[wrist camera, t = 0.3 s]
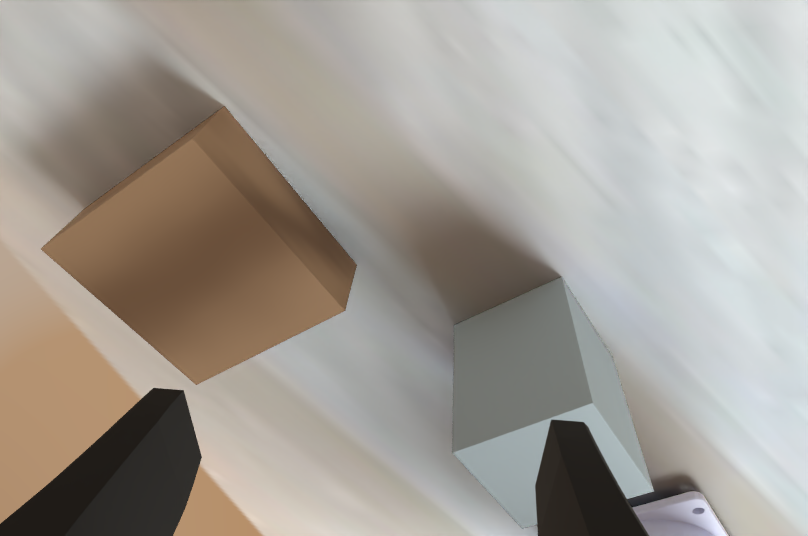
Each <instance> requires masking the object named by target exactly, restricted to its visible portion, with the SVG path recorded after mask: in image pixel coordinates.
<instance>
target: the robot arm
mask: <svg viewBox="0 0 808 536" xmlns="http://www.w3.org/2000/svg"><path fill="white" fill-rule="evenodd" d="M201 458H202V457H201V453H200V449H199V446H198V442H197V438H196V435H195V431H194V427H193V424H192V420H191V416H190V413H189V409H188V405H187V402H186V398H185V394H184V391H183V390H172V389H159V388H153V389H152V390H151V391H150V392H149V393H148V394H146V395H145V396H144V397H143V398H142V399H141V400H140V401H139V402H138V403H137V404H135V405H134V406H133V408H131V409H130V410H129V411H128V412H127V413H126V414H125V415H124V416H123V417H122V418H120V419H119V420H118V421H117V422H116V423H115V424H114V425H113V426H112V427H111V428H110V429H109V430H108V431H107V432H105V434H103V435H102V436H101V437H100V438H99V439H98V440H97V441H96V442H95V443H94V444H93V445H91V447H89V448H88V449H87V450H86V451H85V452H84V453H83V454H81V455H80V456H79V457H78V458H77V459H76V460H75V461H74V462H73V463H71V464H70V465H69V466H68V467H67V468H66V469H65V470H64V471H63V472H61V473H60V474H59V475H58V476H57V477H56V478H55V479H53V481H51V482H50V483H49V484H48V485H46V486H45V487H44V488H43V489H42V490H40V492H38V493H37V494H36V495H35V496H33V497H32V498H31V499H30V500H29V501H27V502H26V503H25V504H24V505H22V506H21V507H20V508H19V509H18V510H16V511H15V512H14V513H13V514H12V515H10V516H9V517H8V518H7V519H6V520H4V521H3V522H2V523H1V524H0V536H173V534H174V532H175V529H176V527H177V525H178V523H179V521H180V519H181V516H182V514H183V512H184V510H185V507H186V504H187V501H188V498H189V495H190V492H191V490H192V487H193V484H194V480H195V477H196V474H197V470H198V467H199V464H200V461H201ZM535 492H536V511H537V527H538V536H729V535H728V534H727V532H726V530H725V529H724V527H723V526H722V524H721V522H720V521H719V519H718V518H717V516H716V514H715V513H714V511H713V510H712V508H711V507H710V505H709V503H708V502H707V500H706V499H705V497H704V495H703V494H702V493H699V492H696V491H691V492H686V493H683V494H679V495H676V496H672V497H668V498H665V499H661V500H658V501H654V502H650V503H647V504H643V505H640V506H636V507H631V505H630V504H629V502H628V500H627V498H626V497H625V495H624V493H623V492H622V490H621V488H620V486H619V484H618V483H617V481H616V479H615V477H614V476H613V474H612V472H611V470H610V468H609V466H608V465H607V463H606V461H605V459H604V457H603V455H602V453H601V451H600V450H599V448H598V446H597V444H596V442H595V440H594V438H593V436H592V434H591V432H590V430H589V427H588V426H587V425H586V424H585V423H584V422H578V421H565V420H552V419H551V422H550V426H549V430H548V435H547V439H546V443H545V447H544V451H543V455H542V459H541V463H540V468H539V472H538V476H537V480H536V484H535Z"/></svg>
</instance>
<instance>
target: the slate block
mask: <svg viewBox="0 0 808 536" xmlns="http://www.w3.org/2000/svg"><path fill="white" fill-rule="evenodd" d="M551 419H552V420H565V421H578V422H584V423H585V424H586V425H587V426H588V427H589V430H590V432H591V434H592V436H593V438H594V440H595V442H596V444H597V446H598V448H599V450H600V451H601V453H602V455H603V457H604V459H605V461H606V463H607V465H608V466H609V468H610V470H611V472H612V474H613V476H614V477H615V479H616V481H617V483H618V484H619V486H620V488H621V490H622V492H623V493H624V495H625V497H626V498H627V499H629V498H633V497H636V496H640V495H643V494H647V493H650V492H654V490H653V486H652V483H651V480H650V477H649V473H648V470H647V467H646V464H645V460H644V457H643V454H642V451H641V447H640V444H639V441H638V438H637V434H636V431H635V428H634V425H633V422H632V418H631V415H630V412H629V409H628V405H627V402H626V399H625V396H624V392H623V389H622V386H621V383H620V379H619V376H618V373H617V370H616V366H615V363H614V360H613V357H612V355H611V354H610V352H609V350H608V349H607V347H606V346H605V344H604V343H603V341H602V339H601V338H600V336H599V335H598V333H597V331H596V330H595V328H594V327H593V325H592V324H591V322H590V320H589V319H588V317H587V316H586V314H585V312H584V311H583V309H582V308H581V306H580V305H579V303H578V301H577V300H576V298H575V297H574V295H573V293H572V292H571V290H570V289H569V287H568V285H567V284H566V282H565V281H564V279H563V278H562V277H560V278H558V279H555V280H553V281H551V282H549V283H546V284H544V285H542V286H540V287H538V288H535V289H533V290H531V291H529V292H527V293H524V294H522V295H520V296H518V297H515V298H513V299H511V300H509V301H507V302H504V303H502V304H500V305H498V306H496V307H493V308H491V309H489V310H487V311H484V312H482V313H480V314H478V315H476V316H473V317H471V318H469V319H467V320H465V321H462V322H460V323H458V324H456V325H454V366H453V438H452V453H453V454H454V455H455V456H456V458H457V459H458V460H459V461H460V462H461V463H462V464H463V465H464V466H465V467H466V468H467V469H468V471H469V472H470V473H471V474H472V475H473V476H474V477H475V478H476V479H477V480H478V481H479V482H480V484H481V485H482V486H483V487H484V488H485V489H486V490H487V491H488V492H489V493H490V494H491V495H492V497H493V498H494V499H495V500H496V501H497V502H498V503H499V504H500V505H501V506H502V507H503V509H504V510H505V511H506V512H507V513H508V514H509V515H510V516H511V517H512V518H513V519H514V520H515V522H516V523H517V524H518V525H519V526H520V527H521V528H522V529H523V528H527V527H530V526H534V525H537V511H536V492H535V484H536V480H537V476H538V472H539V468H540V463H541V459H542V455H543V451H544V447H545V443H546V439H547V435H548V430H549V426H550V422H551Z"/></svg>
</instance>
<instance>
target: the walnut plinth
mask: <svg viewBox="0 0 808 536" xmlns="http://www.w3.org/2000/svg"><path fill="white" fill-rule="evenodd" d="M41 250H42V251H44V252H45V253H46V254H47V255H48V256H49V257H50V258H52V259H53V260H54V261H55V262H56V263H57V264H58V265H60V266H61V267H62V268H63V269H64V270H65V271H66V272H68V273H69V274H70V275H71V276H72V277H73V278H74V279H76V280H77V281H78V282H79V283H80V284H81V285H82V286H84V287H85V288H86V289H87V290H88V291H89V292H91V293H92V294H93V295H94V296H95V297H96V298H97V299H99V300H100V301H101V302H102V303H103V304H104V305H105V306H107V307H108V308H109V309H110V310H111V311H112V312H113V313H115V314H116V315H117V316H118V317H119V318H120V319H121V320H123V321H124V322H125V323H126V324H127V325H128V326H129V327H131V328H132V329H133V330H134V331H135V332H136V333H137V334H139V335H140V336H141V337H142V338H143V339H144V340H145V341H147V342H148V343H149V344H150V345H151V346H152V347H153V348H155V349H156V350H157V351H158V352H159V353H160V354H161V355H163V356H164V357H165V358H166V359H167V360H168V361H170V362H171V363H172V364H173V365H174V366H175V367H176V368H178V369H179V370H180V371H181V372H182V373H183V374H184V375H186V376H187V377H188V378H189V379H190V380H191V381H192V382H194V383H195V384H196V385H197V384H199V383H201V382H203V381H205V380H207V379H209V378H211V377H213V376H215V375H217V374H219V373H221V372H223V371H225V370H227V369H229V368H231V367H233V366H235V365H237V364H239V363H241V362H243V361H245V360H247V359H249V358H251V357H253V356H255V355H257V354H259V353H261V352H263V351H265V350H267V349H269V348H271V347H273V346H275V345H277V344H279V343H281V342H283V341H285V340H287V339H289V338H291V337H293V336H295V335H297V334H299V333H301V332H303V331H305V330H307V329H309V328H311V327H313V326H315V325H317V324H319V323H321V322H323V321H325V320H327V319H329V318H331V317H333V316H335V315H337V314H339V313H341V312H343V311H345V309H346V305H347V301H348V297H349V293H350V289H351V286H352V282H353V278H354V274H355V270H356V266H357V265H356V264H355V262H354V261H353V260H352V259H351V258H350V256H349V255H348V254H347V253H346V252H345V250H344V249H343V248H342V247H341V246H340V244H339V243H338V242H337V241H336V240H335V238H334V237H333V236H332V235H331V234H330V232H329V231H328V230H327V229H326V227H325V226H324V225H323V224H322V223H321V221H320V220H319V219H318V218H317V217H316V215H315V214H314V213H313V212H312V211H311V209H310V208H309V207H308V206H307V205H306V203H305V202H304V201H303V200H302V199H301V197H300V196H299V195H298V194H297V193H296V191H295V190H294V189H293V188H292V187H291V185H290V184H289V183H288V182H287V181H286V179H285V178H284V177H283V176H282V175H281V173H280V172H279V171H278V170H277V169H276V167H275V166H274V165H273V164H272V163H271V161H270V160H269V159H268V158H267V157H266V155H265V154H264V153H263V152H262V151H261V149H260V148H259V147H258V146H257V145H256V143H255V142H254V141H253V140H252V139H251V137H250V136H249V135H248V134H247V133H246V131H245V130H244V129H243V128H242V127H241V125H240V124H239V123H238V122H237V121H236V119H235V118H234V117H233V116H232V115H231V113H230V112H229V111H228V110H227V109H226V107H225V106H224V107H223V108H221V109H220V110H219V111H217V112H216V113H214V114H213V115H212V116H210V117H209V118H208V119H206V120H205V121H204V122H202V123H201V124H199V125H198V126H197V127H195V128H194V129H193V130H191V131H190V132H189V133H187V134H186V135H184V136H183V137H182V138H180V139H179V140H178V141H176V142H175V143H174V144H172V145H171V146H169V147H168V148H167V149H165V150H164V151H163V152H161V153H160V154H159V155H157V156H156V157H154V158H153V159H152V160H150V161H149V162H148V163H146V164H145V165H144V166H142V167H141V168H139V169H138V170H137V171H135V172H134V173H133V174H131V175H130V176H129V177H127V178H126V179H124V180H123V181H122V182H120V183H119V184H118V185H116V186H115V187H114V188H112V189H111V190H109V191H108V192H107V193H105V194H104V195H103V196H101V197H100V198H99V199H97V200H96V201H94V202H93V203H92V204H90V205H89V206H88V207H86V208H85V209H84V210H83V211H82V212H81V213H79V214H78V215H77V216H76V217H75V218H74V219H73V220H72V221H71V222H70V223H68V224H67V225H66V226H65V227H64V228H63V229H62V230H61V231H60V232H59V233H58V234H56V235H55V236H54V237H53V238H52V239H51V240H50V241H49V242H48V243H47V244H45V245H44V246H43V247H42V248H41Z"/></svg>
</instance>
